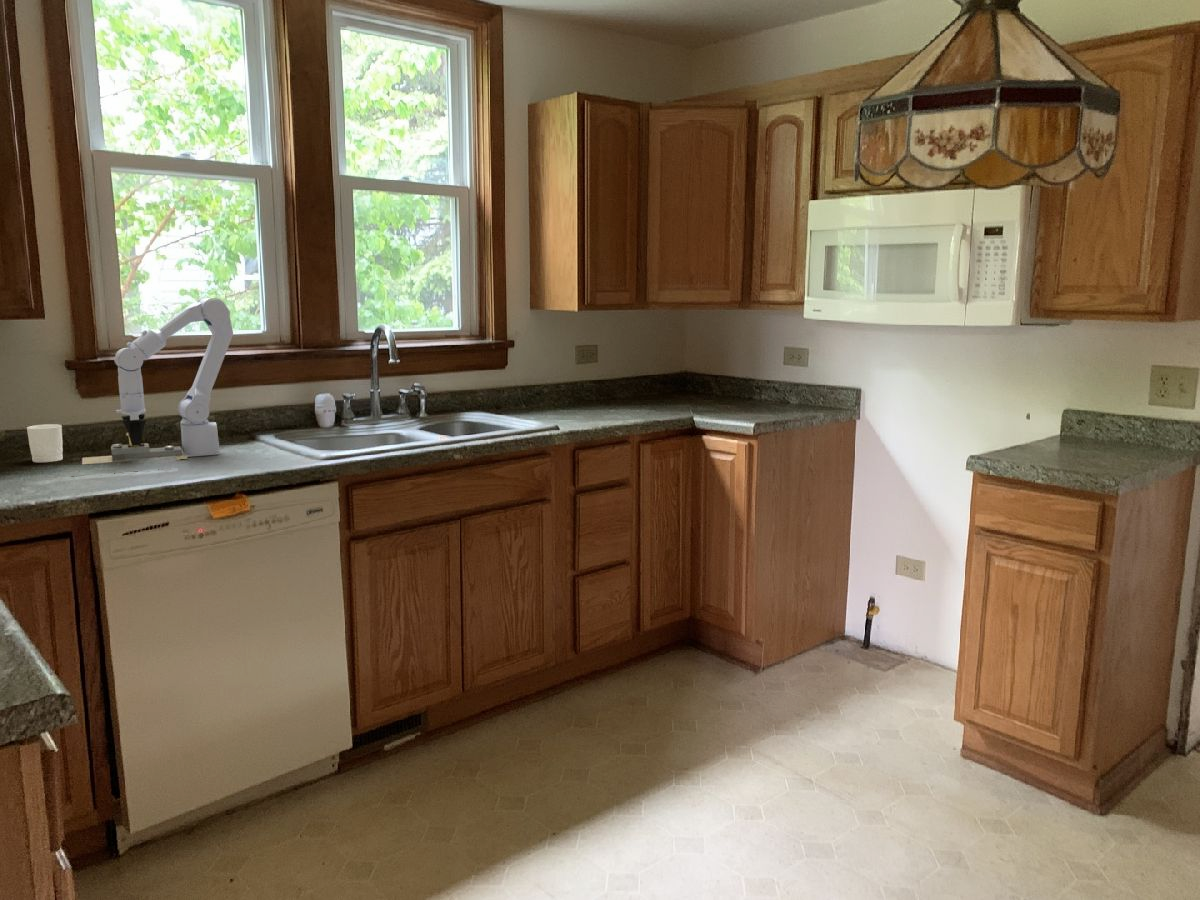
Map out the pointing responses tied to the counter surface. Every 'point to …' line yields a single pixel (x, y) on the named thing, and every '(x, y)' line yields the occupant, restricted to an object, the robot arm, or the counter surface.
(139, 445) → the brass knob
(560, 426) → the counter surface
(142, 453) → the door lock with knob
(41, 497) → the counter surface
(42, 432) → the white cup
